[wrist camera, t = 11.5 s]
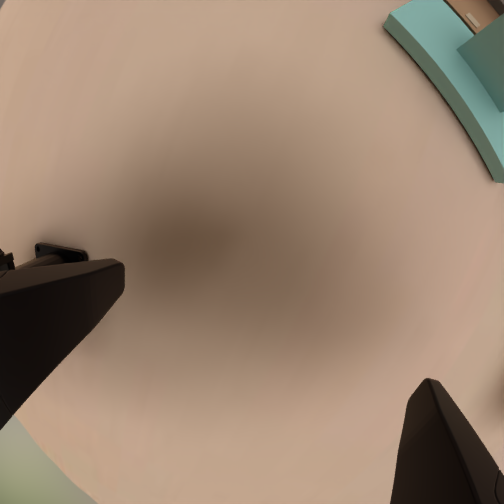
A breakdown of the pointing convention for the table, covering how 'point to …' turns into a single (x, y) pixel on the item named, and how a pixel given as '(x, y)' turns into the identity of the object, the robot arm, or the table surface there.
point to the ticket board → (476, 12)
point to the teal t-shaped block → (459, 69)
